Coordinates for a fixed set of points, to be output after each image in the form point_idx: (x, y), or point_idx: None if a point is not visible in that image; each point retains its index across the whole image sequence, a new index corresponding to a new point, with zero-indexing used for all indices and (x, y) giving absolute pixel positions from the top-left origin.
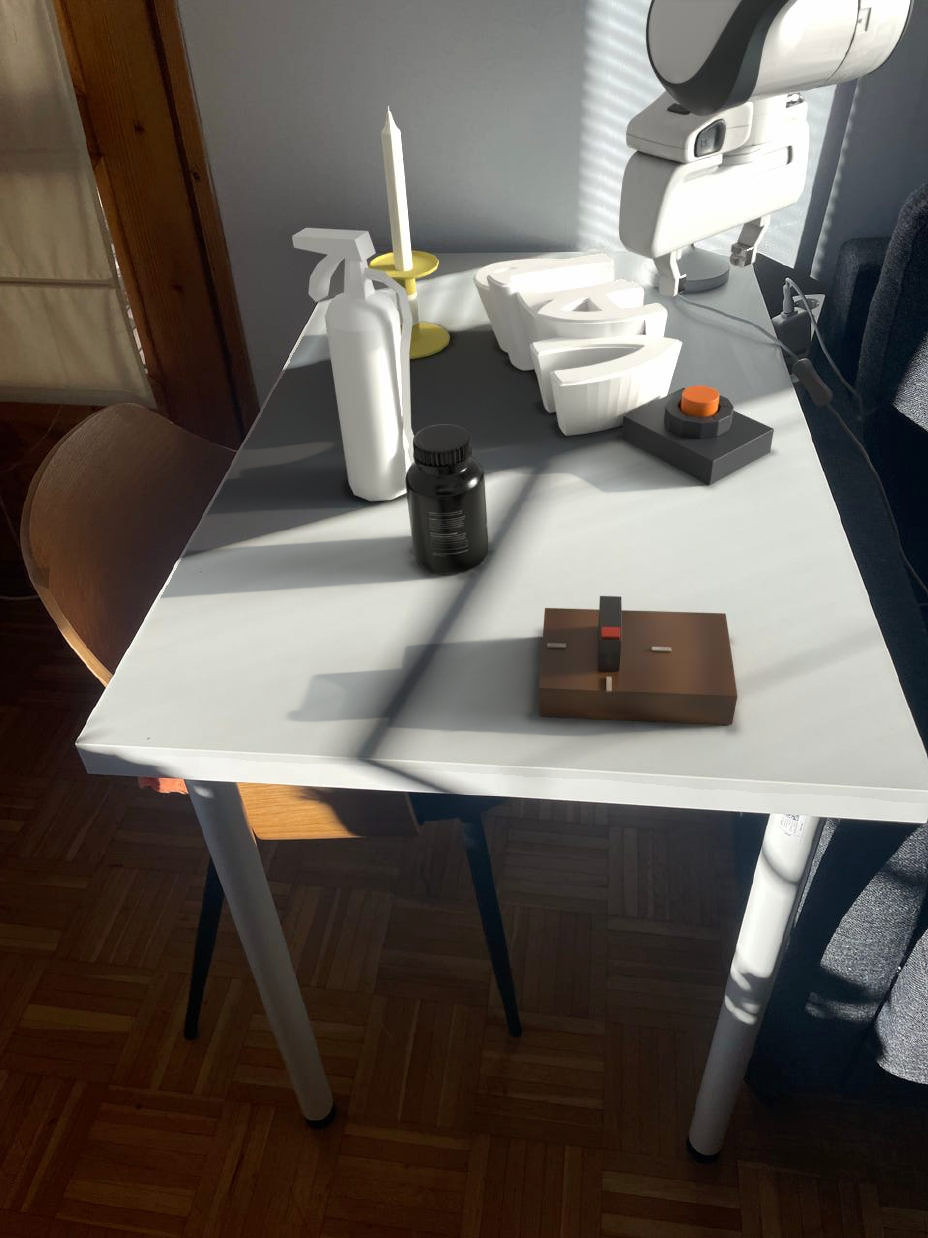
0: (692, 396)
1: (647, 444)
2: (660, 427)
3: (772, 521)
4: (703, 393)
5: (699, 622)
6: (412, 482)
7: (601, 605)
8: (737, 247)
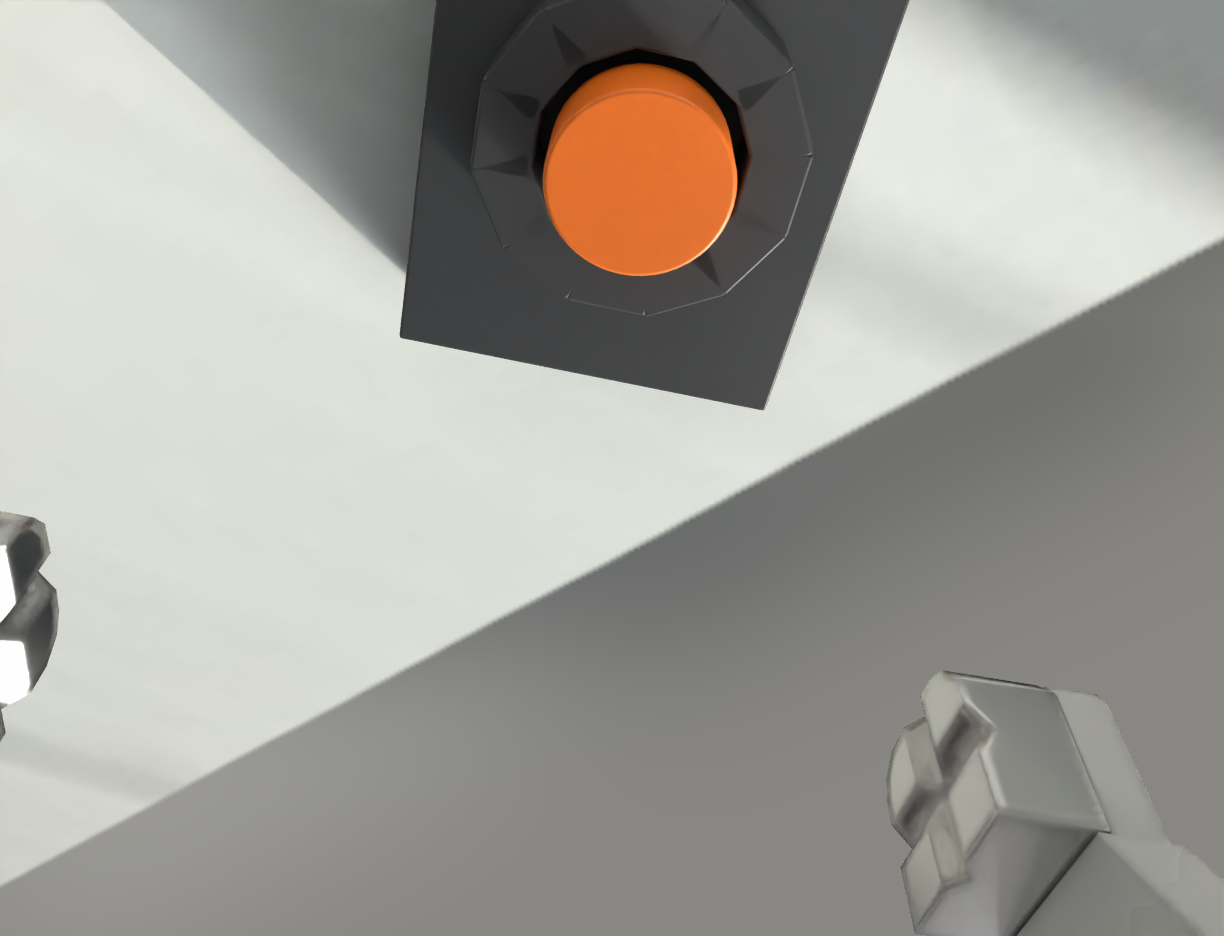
0: (589, 166)
1: None
2: (490, 5)
3: (382, 517)
4: (649, 198)
5: None
6: None
7: None
8: (966, 852)
